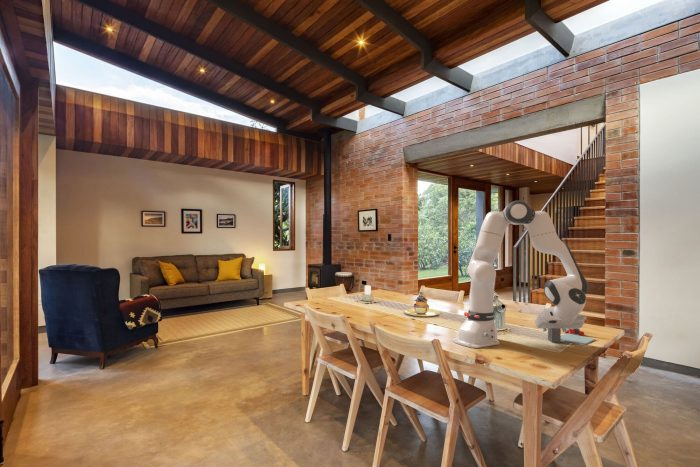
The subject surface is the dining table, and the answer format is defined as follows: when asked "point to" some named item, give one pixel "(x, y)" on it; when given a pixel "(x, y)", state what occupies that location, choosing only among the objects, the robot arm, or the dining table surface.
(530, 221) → the robot arm
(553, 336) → the link block
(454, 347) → the dining table surface
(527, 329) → the dining table surface
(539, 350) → the dining table surface
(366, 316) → the dining table surface
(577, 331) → the tow hook
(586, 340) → the pad
